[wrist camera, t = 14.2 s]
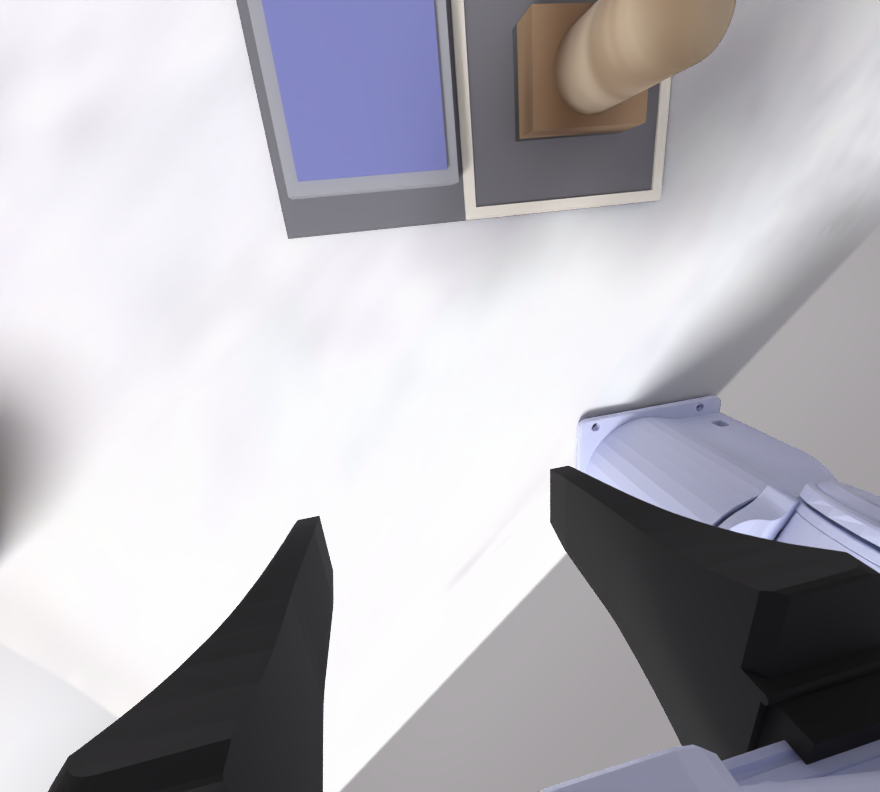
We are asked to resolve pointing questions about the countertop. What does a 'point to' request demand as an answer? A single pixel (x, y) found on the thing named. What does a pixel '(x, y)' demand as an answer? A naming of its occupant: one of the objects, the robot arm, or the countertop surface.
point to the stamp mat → (422, 118)
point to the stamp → (604, 61)
